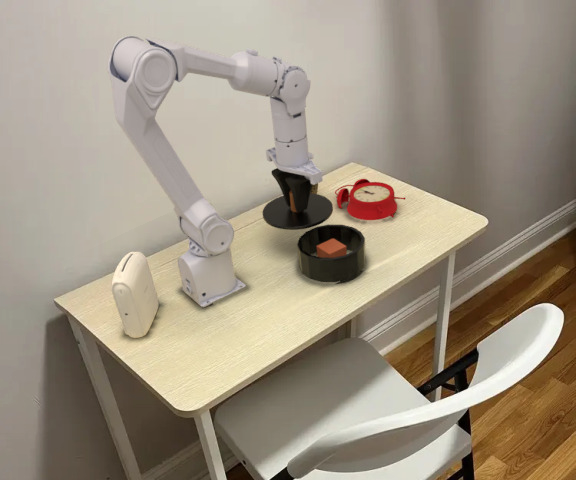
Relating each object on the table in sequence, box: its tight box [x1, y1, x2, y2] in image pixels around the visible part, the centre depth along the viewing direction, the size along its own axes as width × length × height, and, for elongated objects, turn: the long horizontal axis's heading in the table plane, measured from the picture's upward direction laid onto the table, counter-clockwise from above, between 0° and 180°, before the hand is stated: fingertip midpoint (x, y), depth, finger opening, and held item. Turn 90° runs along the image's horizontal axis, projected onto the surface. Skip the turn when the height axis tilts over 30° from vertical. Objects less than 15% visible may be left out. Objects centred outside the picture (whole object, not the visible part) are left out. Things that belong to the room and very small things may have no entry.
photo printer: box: [110, 251, 160, 339], centre depth 117 cm, size 10×4×12 cm, turn 172°
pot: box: [296, 224, 366, 285], centre depth 127 cm, size 12×12×5 cm
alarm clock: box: [334, 178, 406, 221], centre depth 142 cm, size 10×6×15 cm
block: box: [316, 238, 348, 258], centre depth 127 cm, size 4×4×4 cm
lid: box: [262, 190, 334, 231], centre depth 127 cm, size 13×13×5 cm
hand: (297, 207), depth 127 cm, fingers closed on lid, 2 cm apart
